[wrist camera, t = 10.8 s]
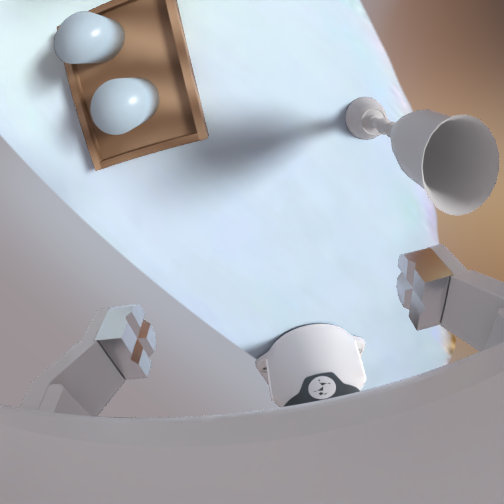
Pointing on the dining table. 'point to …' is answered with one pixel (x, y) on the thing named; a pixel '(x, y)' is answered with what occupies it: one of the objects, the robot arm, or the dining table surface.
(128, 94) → the grey rounded piece
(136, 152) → the tray
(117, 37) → the white rounded capsule
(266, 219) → the dining table surface
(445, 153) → the chalice
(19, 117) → the dining table surface
